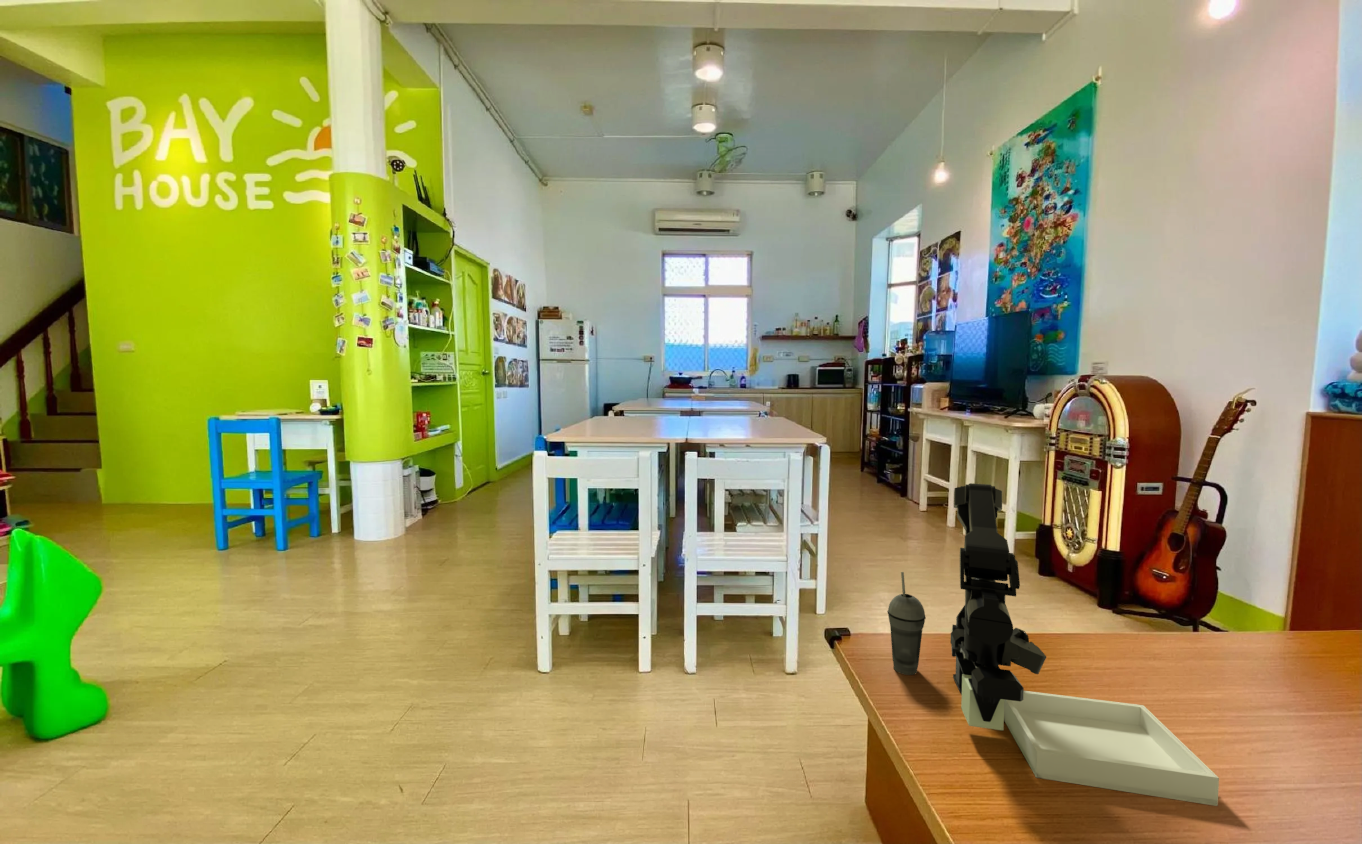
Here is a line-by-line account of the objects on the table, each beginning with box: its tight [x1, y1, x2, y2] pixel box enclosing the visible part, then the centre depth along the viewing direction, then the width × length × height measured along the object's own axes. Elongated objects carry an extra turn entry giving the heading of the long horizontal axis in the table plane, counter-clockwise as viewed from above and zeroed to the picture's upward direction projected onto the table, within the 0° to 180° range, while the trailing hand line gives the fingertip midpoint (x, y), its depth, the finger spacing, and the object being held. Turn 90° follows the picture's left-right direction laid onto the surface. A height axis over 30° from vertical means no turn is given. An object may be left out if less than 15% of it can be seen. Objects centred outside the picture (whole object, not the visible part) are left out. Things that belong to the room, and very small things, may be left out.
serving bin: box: [1004, 690, 1220, 807], centre depth 85 cm, size 22×18×4 cm
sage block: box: [960, 674, 1005, 731], centre depth 89 cm, size 5×5×6 cm
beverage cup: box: [887, 571, 927, 676], centre depth 111 cm, size 7×7×20 cm
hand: (981, 711), depth 89 cm, fingers closed on sage block, 5 cm apart
